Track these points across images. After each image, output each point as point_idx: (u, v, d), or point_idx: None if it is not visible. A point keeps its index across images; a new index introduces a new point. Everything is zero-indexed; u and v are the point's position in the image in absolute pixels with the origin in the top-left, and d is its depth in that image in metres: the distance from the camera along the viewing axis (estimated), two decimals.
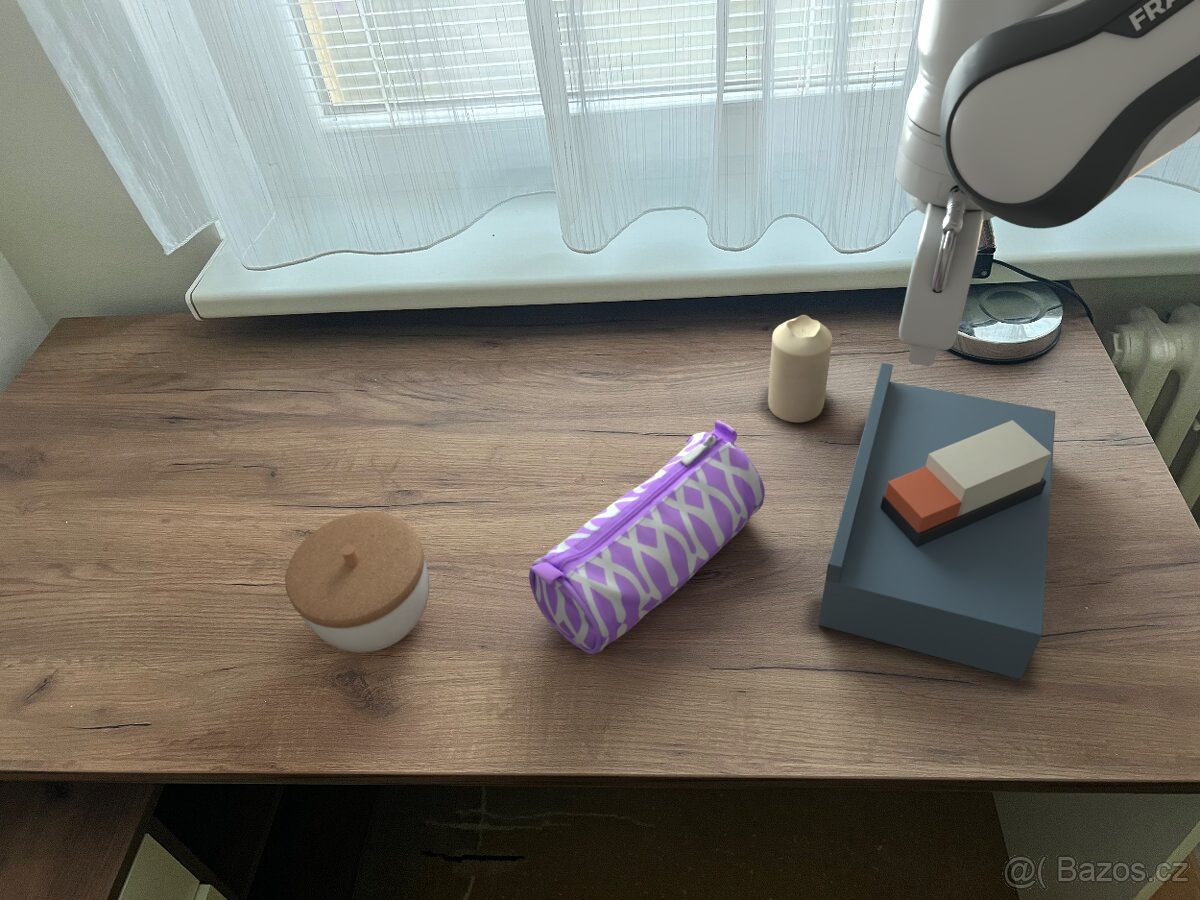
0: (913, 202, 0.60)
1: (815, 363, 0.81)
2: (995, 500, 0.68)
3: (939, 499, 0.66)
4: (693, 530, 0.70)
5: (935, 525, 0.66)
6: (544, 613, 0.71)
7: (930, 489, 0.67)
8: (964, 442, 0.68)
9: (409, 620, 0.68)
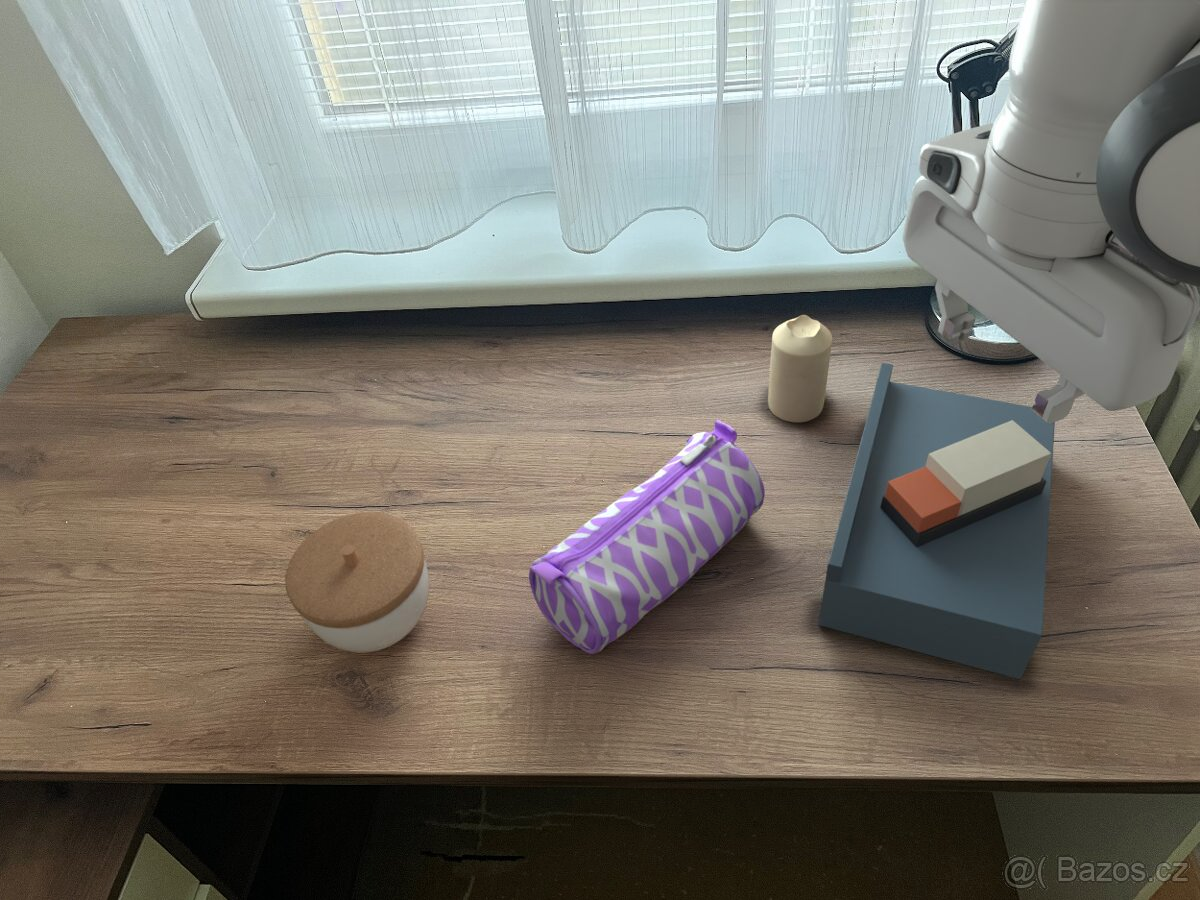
0: (1023, 263, 0.51)
1: (815, 363, 0.81)
2: (995, 500, 0.68)
3: (939, 499, 0.66)
4: (693, 529, 0.70)
5: (935, 525, 0.66)
6: (544, 613, 0.71)
7: (930, 489, 0.67)
8: (964, 442, 0.68)
9: (409, 620, 0.68)
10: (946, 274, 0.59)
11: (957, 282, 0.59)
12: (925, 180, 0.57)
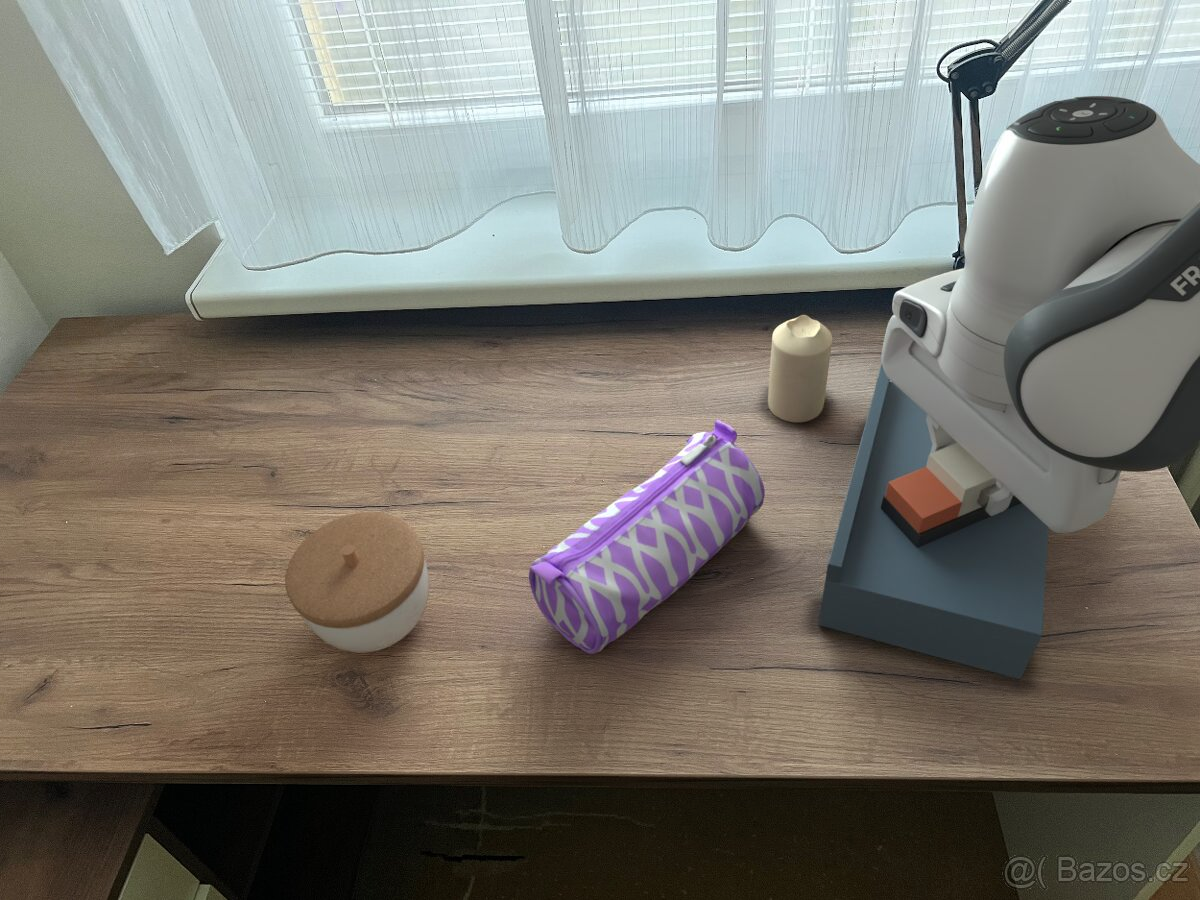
0: (981, 404, 0.59)
1: (815, 363, 0.81)
2: None
3: (939, 499, 0.66)
4: (693, 529, 0.70)
5: (935, 525, 0.66)
6: (544, 613, 0.71)
7: (931, 489, 0.67)
8: None
9: (409, 620, 0.68)
10: (919, 397, 0.67)
11: (928, 406, 0.66)
12: (898, 319, 0.65)
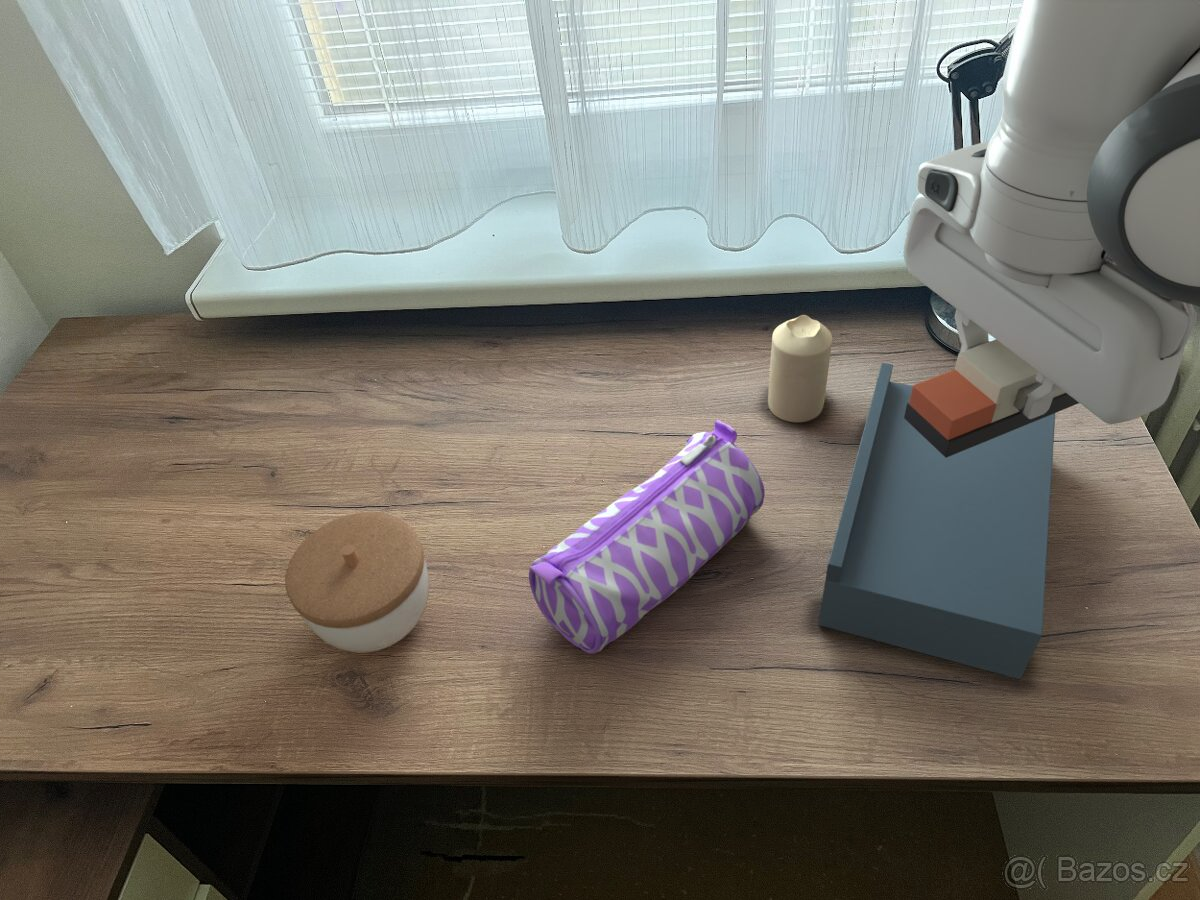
0: (1021, 279, 0.52)
1: (815, 363, 0.81)
2: None
3: (971, 401, 0.59)
4: (693, 529, 0.70)
5: (967, 431, 0.59)
6: (544, 613, 0.71)
7: (961, 392, 0.59)
8: (998, 341, 0.61)
9: (409, 620, 0.68)
10: (946, 289, 0.60)
11: (957, 297, 0.59)
12: (923, 198, 0.58)
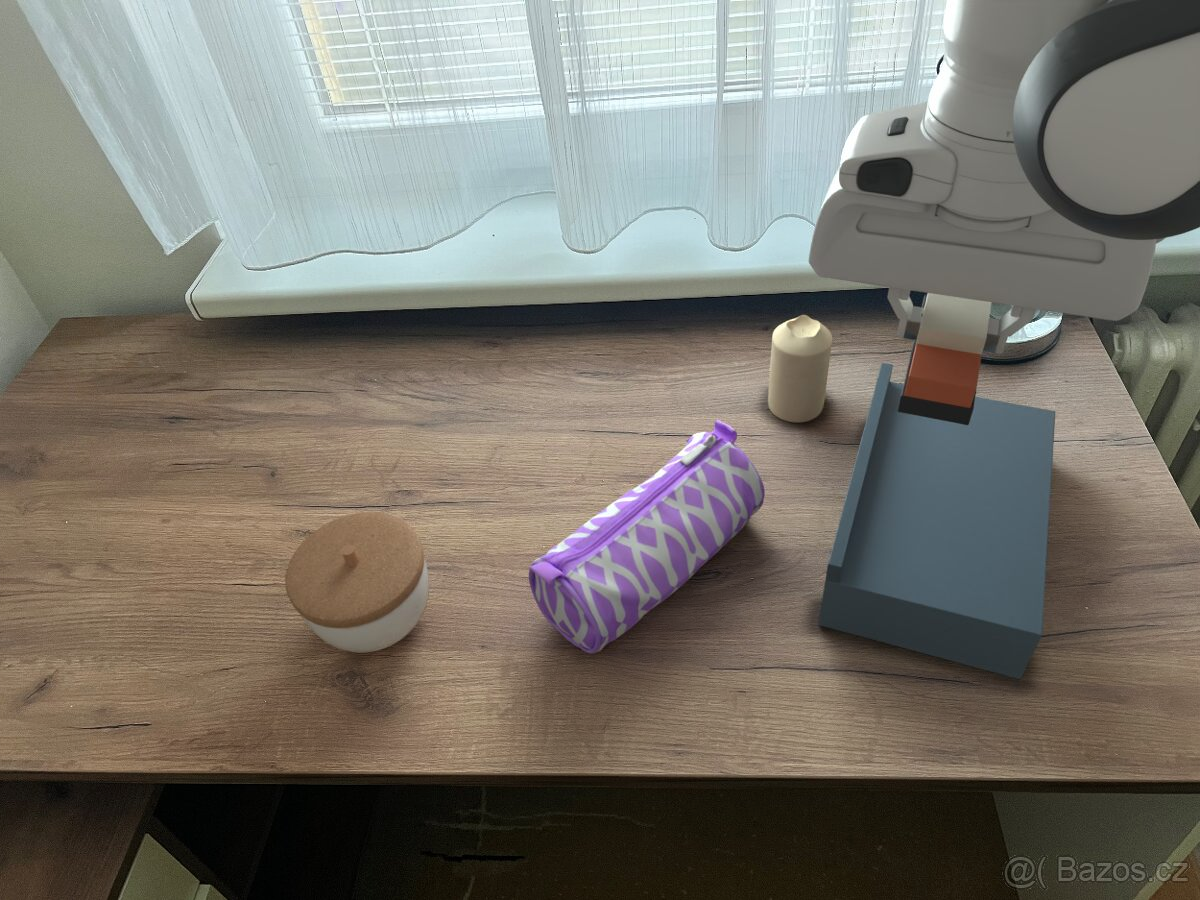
0: (1007, 229, 0.51)
1: (815, 363, 0.81)
2: None
3: (964, 363, 0.58)
4: (693, 529, 0.70)
5: None
6: (544, 612, 0.71)
7: (947, 359, 0.58)
8: (930, 301, 0.60)
9: (409, 620, 0.68)
10: (883, 274, 0.58)
11: (900, 276, 0.57)
12: (845, 195, 0.54)
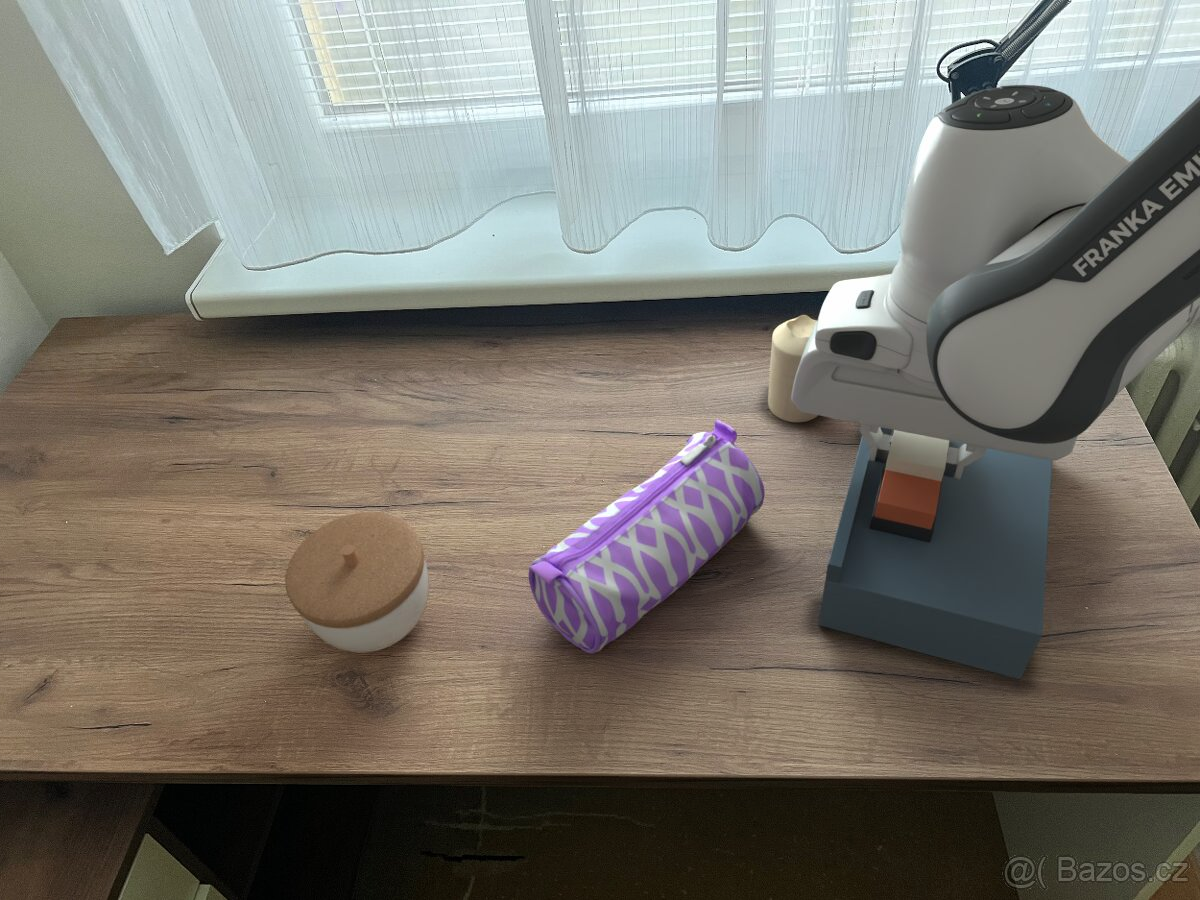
0: None
1: None
2: None
3: (926, 490, 0.67)
4: (693, 529, 0.70)
5: None
6: (543, 612, 0.71)
7: (911, 486, 0.67)
8: (897, 431, 0.69)
9: (409, 620, 0.68)
10: (855, 414, 0.67)
11: (870, 416, 0.66)
12: (821, 354, 0.63)
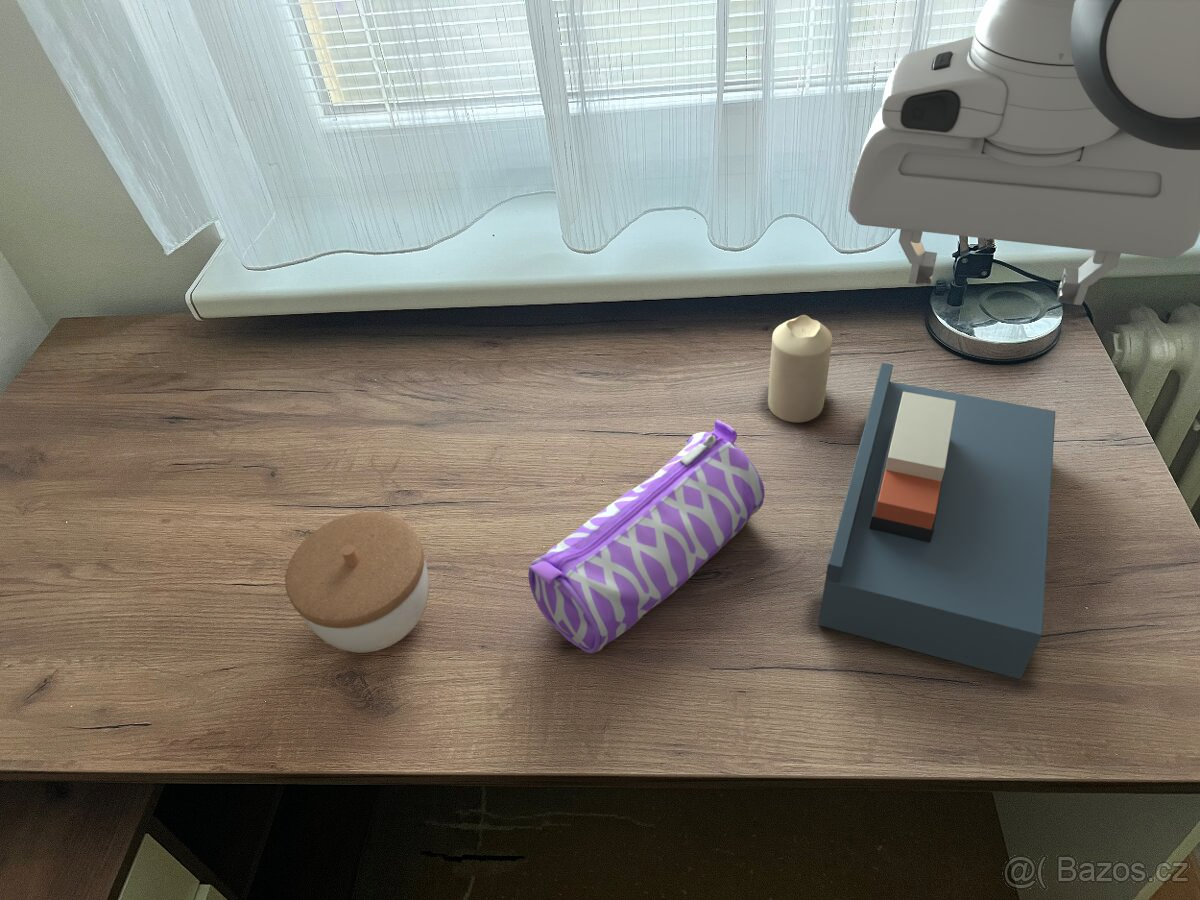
0: (1058, 162, 0.50)
1: (815, 363, 0.81)
2: None
3: (926, 490, 0.67)
4: (693, 529, 0.70)
5: None
6: (543, 612, 0.71)
7: (911, 486, 0.67)
8: (897, 431, 0.69)
9: (409, 620, 0.68)
10: (926, 219, 0.56)
11: (944, 220, 0.56)
12: (888, 134, 0.52)
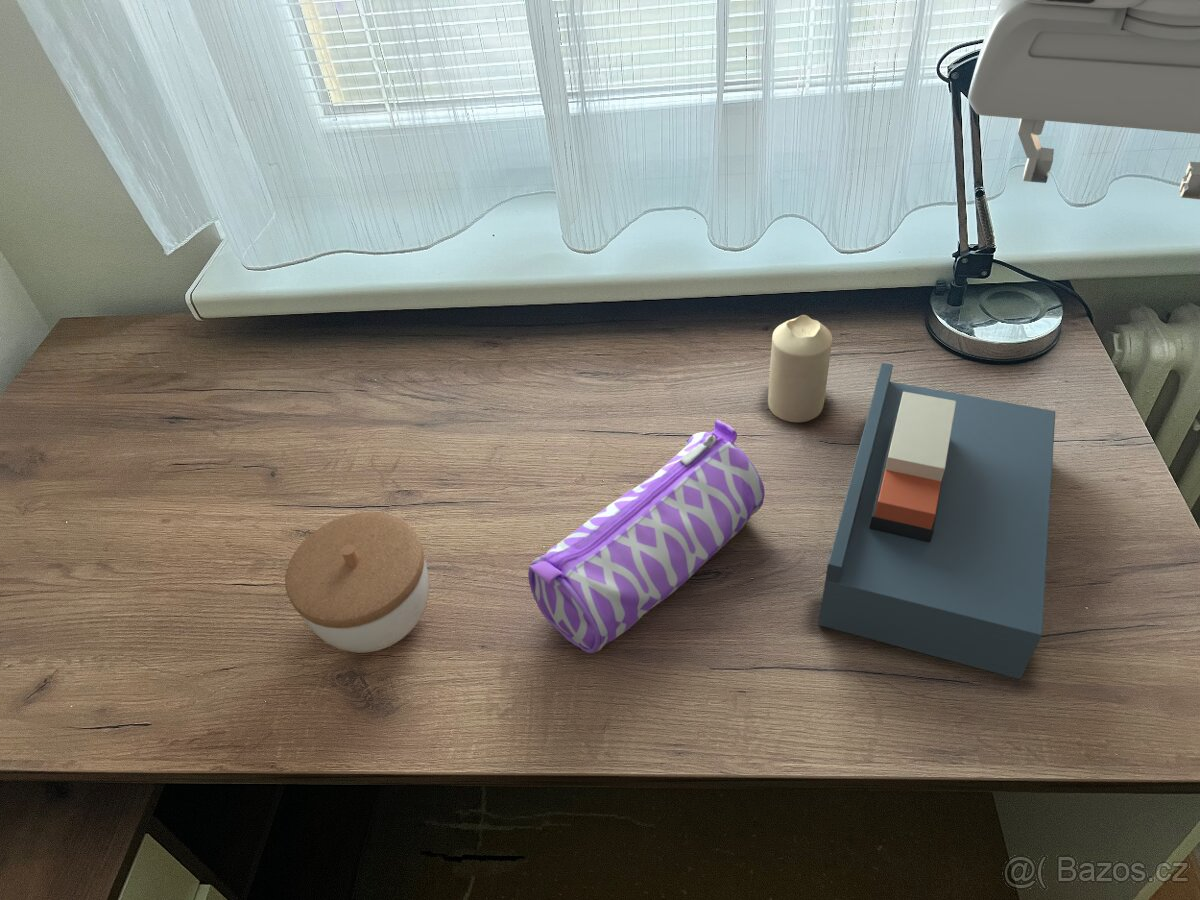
0: None
1: (815, 363, 0.81)
2: None
3: (926, 490, 0.67)
4: (693, 529, 0.70)
5: None
6: (543, 612, 0.71)
7: (911, 486, 0.67)
8: (897, 431, 0.69)
9: (409, 620, 0.68)
10: (1052, 106, 0.54)
11: (1072, 107, 0.54)
12: (1024, 9, 0.51)
